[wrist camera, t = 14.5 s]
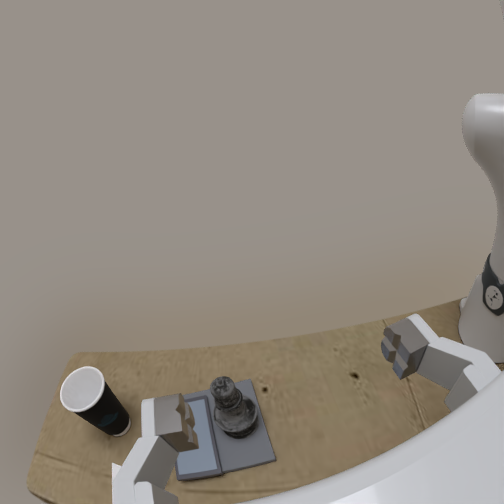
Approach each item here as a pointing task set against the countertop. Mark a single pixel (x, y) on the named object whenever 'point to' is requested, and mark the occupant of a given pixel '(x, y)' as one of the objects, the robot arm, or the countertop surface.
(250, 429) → the stone finial ornament
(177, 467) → the phone
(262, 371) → the countertop surface
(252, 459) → the mat
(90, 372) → the dixie cup
